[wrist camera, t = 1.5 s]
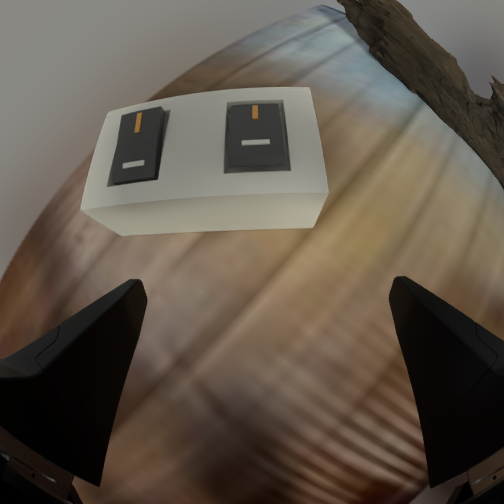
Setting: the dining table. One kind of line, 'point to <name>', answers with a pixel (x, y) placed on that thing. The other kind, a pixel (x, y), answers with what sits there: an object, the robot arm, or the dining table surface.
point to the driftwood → (432, 76)
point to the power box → (212, 170)
